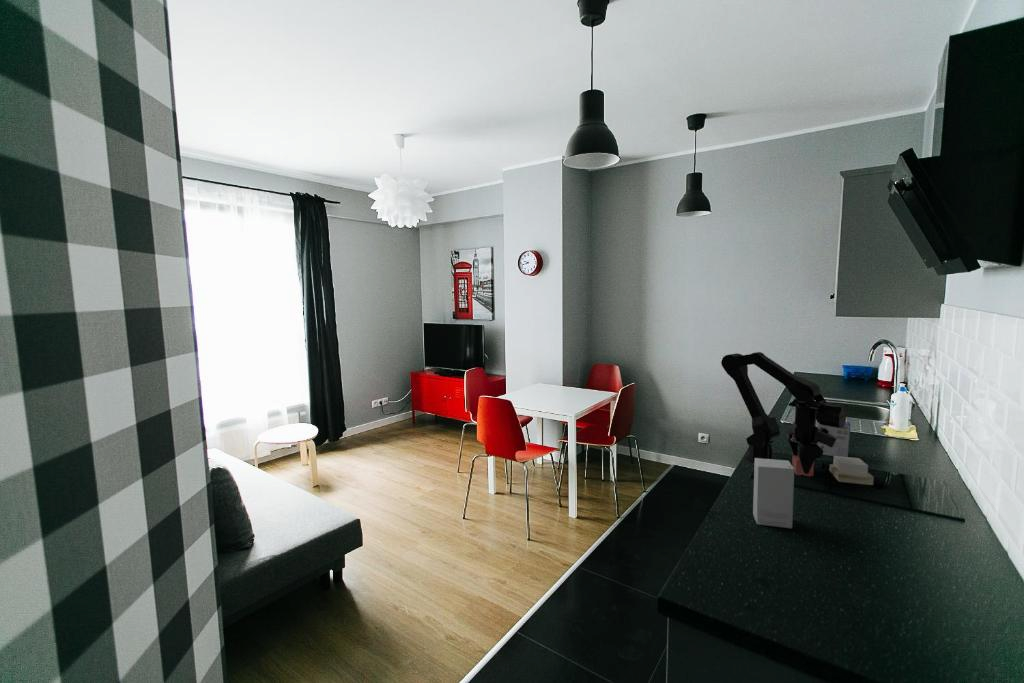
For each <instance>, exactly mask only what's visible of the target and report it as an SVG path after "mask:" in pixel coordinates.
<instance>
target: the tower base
mask: <svg viewBox="0 0 1024 683" xmlns="http://www.w3.org/2000/svg"><path fill="white" fill-rule="evenodd" d="M828 468H829V471H830V472H831V473H832V474H833V475H832V474H831V473H830V472H829V473H830V474H831V475H832V476H833V477H834V478H835V479H836V480H837V481H838V482H839V483H848V484H857V485H858V484H859V485H867V486H873V485H874V478H875V477H874V476H873V474H871V473H870V472H868V473H867V475H861V474H852V473H842V472H840V471H839V470H838V469H837V468H836V467H835V466H834V465H833V463H829V467H828Z"/></svg>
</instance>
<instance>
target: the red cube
mask: <svg viewBox="0 0 1024 683" xmlns="http://www.w3.org/2000/svg"><path fill="white" fill-rule="evenodd" d="M791 456H792V457H791V465H792V466H793V468H794V469H795V471H794V473H795V474H796V475H795V474H794V475H795V476H801V475H804V477H811V476H813V477H814V471H815V461H814V462H813V464H812V466H811V469H810V471H809V473H808V474H805V473H804V471H803V468H802V465H801V462H800V459H799V456H798V455H793V454H792V455H791Z"/></svg>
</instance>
